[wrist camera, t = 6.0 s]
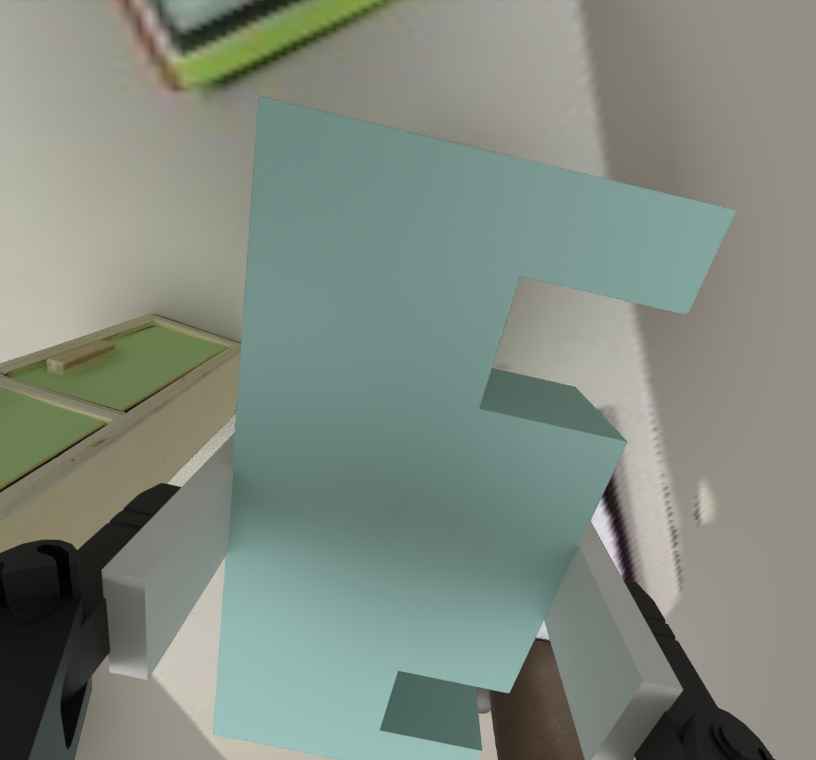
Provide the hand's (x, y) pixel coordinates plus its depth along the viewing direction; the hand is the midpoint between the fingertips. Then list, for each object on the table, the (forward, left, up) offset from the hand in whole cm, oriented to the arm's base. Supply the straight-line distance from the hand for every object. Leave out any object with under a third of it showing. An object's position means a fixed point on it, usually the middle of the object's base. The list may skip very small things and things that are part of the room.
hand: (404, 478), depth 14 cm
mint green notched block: (0, 0, 0) cm, 0 cm away
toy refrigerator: (+6, -17, -18) cm, 26 cm away
